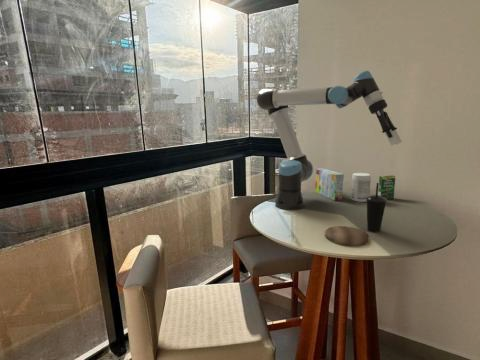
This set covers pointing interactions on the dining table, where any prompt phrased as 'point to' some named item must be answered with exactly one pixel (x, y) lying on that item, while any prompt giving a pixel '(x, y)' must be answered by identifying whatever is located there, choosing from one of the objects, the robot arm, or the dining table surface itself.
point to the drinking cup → (375, 211)
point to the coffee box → (386, 186)
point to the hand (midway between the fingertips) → (397, 143)
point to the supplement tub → (360, 186)
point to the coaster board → (346, 236)
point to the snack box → (329, 184)
